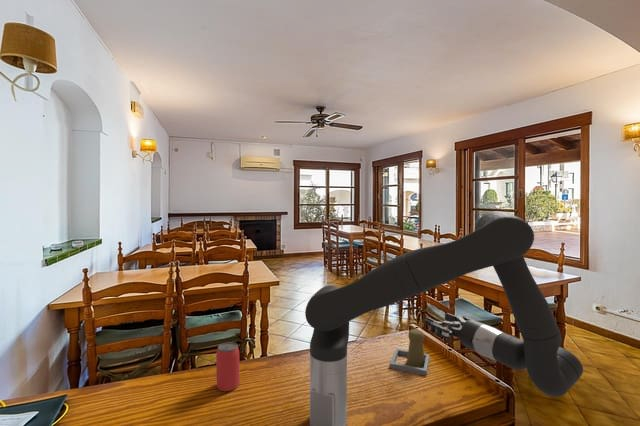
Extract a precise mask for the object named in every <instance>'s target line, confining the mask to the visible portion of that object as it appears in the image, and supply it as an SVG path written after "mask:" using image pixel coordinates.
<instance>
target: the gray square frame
mask: <svg viewBox="0 0 640 426" xmlns="http://www.w3.org/2000/svg"><path fill="white" fill-rule="evenodd" d="M398 356H406V357H408V350H405V349H401V348H400V349H399V348H395V350H394V352H393V354H392V356H391V357H392V358H391V360H390V363H389V368H390V369H393V370H399V371H404V372H408V373H412V374H418V375H421V376H422V375H423V376H428V368H429V364H430V353H429V354H427V353H424V358H425V364H424V366H423V367H413V366H411V365H409V364H407V365H406V364H402V363H398V362H397V359H398Z"/></svg>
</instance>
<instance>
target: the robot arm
mask: <svg viewBox="0 0 640 426" xmlns="http://www.w3.org/2000/svg"><path fill="white" fill-rule="evenodd" d="M534 240H535V233H534V230H533V227H531V226H530V224H529V223H527V221H525V220H523V219H522V218H521V217H518V216H516V215H514V214H511V213H507V212H504V211H498V210H495V211H494V210H493V211H490V212H487V213H484V214H483V215H481V216H480V217H479V218H478V219H477V221H476V222H475V225H474V230H473V231H472V232H469V233H468V234H466V235H465V236H461V237H460V238H458V239H456V240H453V241H449V242H446V243H442V244H435V245H431V246H427V247H426V246H425V247H421V248H417V249H413V250H410V251H408V252H405V253H403V254H400V255H397V256H396V257H394V258H391V259H389V260H387V261H386V262H383V263H382V264H380V265H379V266H376V268H374V269H372V270H371V271H369V272H367V273H366V274H364V275H363V276H362V277H360V278H359V279H356V280H355V281H354V282H351V283H350V284H346V285H343V286H340V287H339V286H336V285H330V284H329V285H326V286H323V287H321V288H320V289H319V290H317V291H316V292H315V293H314V294H313V295H312V296H311V297H310V299H309V300H308V302H307V303H306V306H305V312H304V314H305V316H304V317H305V320H306V322H307V324H308V325H309V326H310V327H312V329H313V332H312V335H311V339H310V342H309V426H347V423H348V343H349V339H350V322H351V321H353V320H354V319H357V318H359V317H361V316H362V315H364V314H365V315H366V314H367V313H369V312H372V311H375V310H378V309H381V308H386V307H387V306H391V305H393V304H396V303H398V302H402V301H404V300H408V299H410V298H412V297H415V296H417V295H420V294H422V293H425V292H428V291H430V290H432V289H434V288H436V287H439V286H441V285H444V284H447V283H449V282H451V281H453V280H456V279H459V278H460V277H462V276H465V275H468V274H471V273H473V272H476V271H480V270H483V269H487V268H491V267H492V268H493V269H494V271H495V273H496V274H497V277H498V279H499V282H500V283H501V286H502V289H503V291H504V294H505V297H506V299H507V302H508V304H509V307H510V309H511V313H512V315H513V318H514V320H515V323H516V325H517V328H518V330H519V332H520V335H521V338H522V339H521V338H518V337H516V336H513V335H510V334H509V333H506V332H503V331H502V330H500V329H498V328H495V327H494V326H491V325H488V324H486V323H483V322H481V321H477V320H476V319H473V318H471V317H469V316H466V315H462V316H460V315H455V314H451V313H449V312H445V313H444V320H442V321H440V320H439V321H437V320H436V319H433V318H430V317H428V316H426V317H424V322H423V323H424V325H425V326H428V327H430V333H432V334H434V335H436V336H438V337H441V338H442V339H445V340H450V337H451V336H452V337H453V338H457V339H459V340H460V342H461V344H462V345H463V347H466V348H468V350H469V349H470V350H471V351H473V352H476V353H478V354H480V355H482V356H484V357H486V358H489V359H490V360H494V361H496V362H498V363H500V364H502V365H505V366H506V367H509V368H510V369H512V370H516V371H522V370H525V369H526V371H527V375H528V376H529V379H530V381H531V382H532V384H533V385H534V386H535V387H536V388H537V390H538V391H540V392H541V393H543V394H545V395H547V396H549V397H552V398H561V397H563V396H564V395H566V394H567V393H568V392H569V391H570V389H572V387H573V386H574V385H575V384H576V383H577V382H578V381H579V379H580V378H581V377H582V375H583V374H584V373H583V372H584V368H583V364H582V362H581V361H580V360H579V358H578V357H577V355H575V354H574V353H573V352H571V351H569V350H568V349H566V348H564V347H562V346H561V345H562V342H563V338H562V337H563V336H562V333H561V330H560V329H559V326H558V324H557V321H556V318H555V316H554V313H553V311H552V309H551V306H550V305H549V303H548V300H547V299H546V297H545V296H544V294H543V292H542V290H541V289H540V287H539V285H538V284H537V281H536V280H535V277H533V275H532V273H531V271H530V269H529V267H528V265H527V261H526V259H525V256H524V255H526V253H528V252H529V251H530V249H531V248H532V246H533V244H534V242H535V241H534ZM446 326H447V327H446Z"/></svg>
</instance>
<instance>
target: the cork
mask: <svg viewBox="0 0 640 426" xmlns="http://www.w3.org/2000/svg"><path fill="white" fill-rule="evenodd" d="M407 335H408V336H407V337H408V339H409V344H408V350H407V351H408V356H406V363H407V365H408V366H413V367H418V368H424V364H425V358H424V354H425V351H424V344H423V342H424V341H425V333H424V332H423V331H422V330H420V329H415V328H413V329H410V330H409V331H408V334H407Z"/></svg>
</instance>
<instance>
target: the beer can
mask: <svg viewBox="0 0 640 426" xmlns="http://www.w3.org/2000/svg"><path fill="white" fill-rule="evenodd" d="M215 355H216V356H215V357H216V358H215V360H216V361H215V365H216V371H215V372H216V375H215V376H216V388H217V390H219V391H221V392H231V391H233V390H235V389H237V388H238V386H239V385H240V350H239V346H238V344H237V342H234V341H233V342H232V341H231V342H230V341H228V342H223V343H221V344H220V345H218V346H217V350H216V353H215Z"/></svg>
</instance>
